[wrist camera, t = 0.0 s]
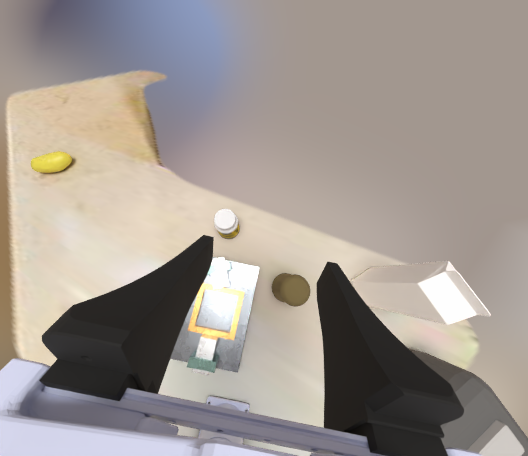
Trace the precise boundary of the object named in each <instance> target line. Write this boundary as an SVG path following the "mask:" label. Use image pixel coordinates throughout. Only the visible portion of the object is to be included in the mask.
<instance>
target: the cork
mask: <svg viewBox="0 0 528 456" xmlns="http://www.w3.org/2000/svg"><path fill="white" fill-rule="evenodd" d="M272 292H273V294H274V296H275V297H276V298H277V299H278V300H280V301H281V302H286V303H287V304H289V305H291V306H300V305H302V304H304V303H305V302H306V301H307V300H308V298H309V296H310V286H309V284H308V282H307V281H306V280H305V278H303V277H302V276H300V275H291V274H287V273H284V274H280V275H278V276H277V277H276V278H275V279H274V281H273V284H272Z"/></svg>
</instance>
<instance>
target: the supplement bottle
mask: <svg viewBox="0 0 528 456" xmlns="http://www.w3.org/2000/svg"><path fill="white" fill-rule="evenodd" d="M214 225H215V228H216V229H217V231H218V232H219V234H220V235H221V236H222V237H223V238H225V239H232V238H234V237H236V236H237V234H238V233H239V222H238V218H237V216H236V215H235V214H234V213H233V212H232V211H231V210H229V209H221V210H219V211H218V212H217V213H216V214H215V217H214Z"/></svg>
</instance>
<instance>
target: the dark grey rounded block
mask: <svg viewBox="0 0 528 456" xmlns="http://www.w3.org/2000/svg"><path fill="white" fill-rule="evenodd" d="M411 352H412V353H414V354H415V355H416V356H417V357H418V358H419V359H420V360H422V361H423V362H424V363H425V364H426V365H428V366H429V367H430V368H431V369H433V370H434V371H435V372H436V373H438V374H439V375H440V376H441V377H443V378H444V379H445V380H446V381H447V382H449V383H450V384H451V386H452V388H453V390H454V392H455V393H456V395H457V397H458V399H459V401H460V403H461V405H462V406H463V408H464V414H463V415H462V416H461V417H460V418H458V419H456V420H453V421H451V422H448V423H445V424H442V425H440V426H441V428H442V431H443V433H444V438H441V440H442V443H443V445H444V447H452V448H458V449H463V450H468V451H473V452H478V453H480V454H481V455H482V456H528V438H527V436H526V435H525V434H524V432H523V431H522V430H521V429H520V427H519V426H518V424H517V423H516V422H515V420H514V419H513V418H512V416H511V415H510V414H509V412H508V411H507V409H506V408H505V407H504V405H503V404H502V403H501V401H500V400H499V399H498V397H497V396H496V395H495V393H494V392H493V390H492V389H491V388H490V387H489V386H488V385H487V384H486V383H485V382H484V381H483V380H482V379H480V378H479V377H477V376H476V375H474V374H473V373H471V372H468V371H466V370H464V369H462V368H459V367H457V366H455V365H452V364H450V363H448V362H445V361H443V360H441V359H438V358H436V357H434V356H431V355H429V354H427V353H424V352H420V351H411Z"/></svg>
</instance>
